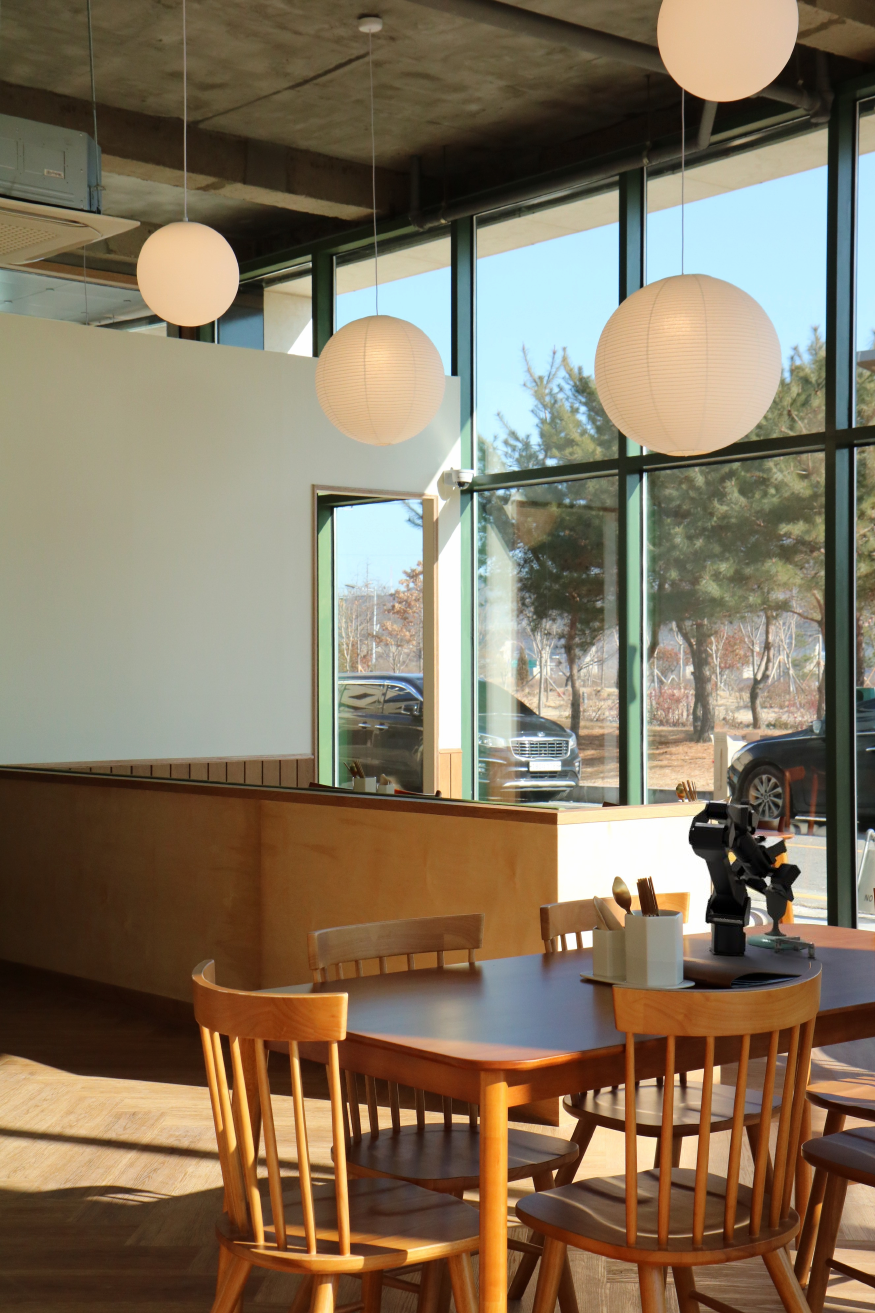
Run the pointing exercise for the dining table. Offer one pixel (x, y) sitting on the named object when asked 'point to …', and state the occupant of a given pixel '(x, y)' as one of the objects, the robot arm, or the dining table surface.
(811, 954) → the jointed flat metal bars
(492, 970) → the dining table surface
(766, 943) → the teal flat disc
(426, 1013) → the dining table surface
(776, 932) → the sundae
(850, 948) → the dining table surface
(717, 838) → the robot arm
